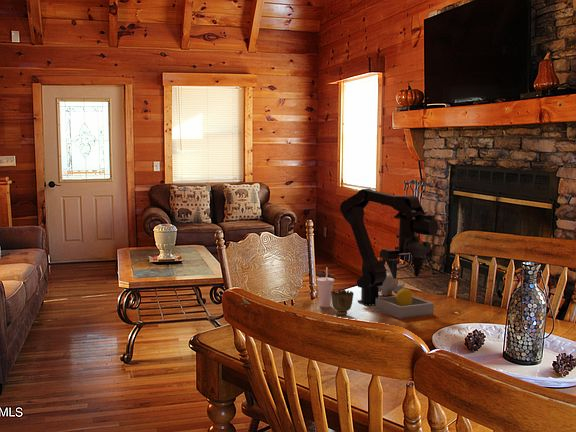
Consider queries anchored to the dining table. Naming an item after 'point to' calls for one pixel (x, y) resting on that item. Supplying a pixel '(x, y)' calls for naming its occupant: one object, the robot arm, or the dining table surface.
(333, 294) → the cup
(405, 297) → the lemon
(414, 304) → the bin
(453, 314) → the dining table surface
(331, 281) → the smoothie
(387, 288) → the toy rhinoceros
